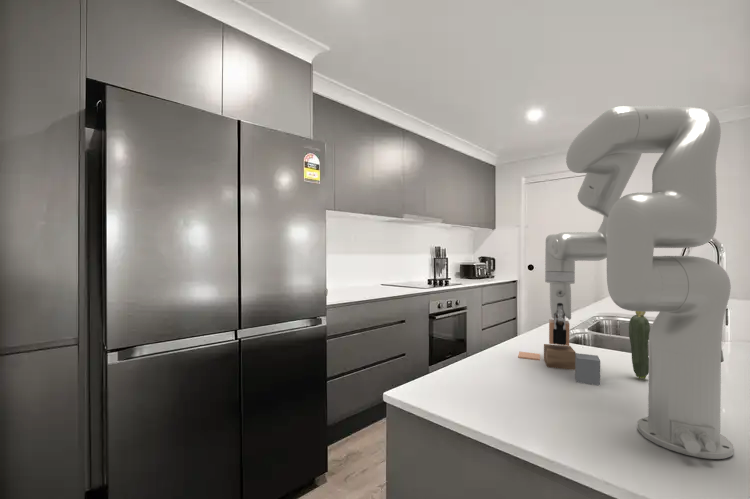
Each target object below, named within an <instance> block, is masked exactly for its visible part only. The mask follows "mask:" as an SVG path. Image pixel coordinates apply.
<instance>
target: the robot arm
mask: <svg viewBox="0 0 750 499" xmlns="http://www.w3.org/2000/svg"><path fill="white" fill-rule="evenodd" d="M721 132H722V131H721V123H720V121H719V118H718V117H717V116H716V114H715V113H714V112H712V111H711V110H709V109H707V108H703V107H697V106H689V105H688V106H686V105H685V106H684V105H683V106H682V105H620V106H615V107H611V108H609V109H607V110H605V111H604V112H603V113H601V115H599V116H598V117H596V118H595V120H593V121H592V122H591V123H590V124H588V125H587V126H586V127H584V129H583V130H581V131H580V132H579V133H578V134H577V135H576V137H575V138H574V139H573V140H572V142H571V143H570V145H569V147H568V150H567V152H566V158H565V159H566V163H565V164H566V165H567V169H569V171H570V172H572V173H574V174H575V173H576V174H585V176H584V179H583V182H582V183H581V186H580V188H579V190H578V192H577V200H578V202H579V203H580V204H581V205H582V206H583V207H585V208H587V209H589V211H593V212H595V213H597V214H599V215H602V216H603V218H602V219H603V220H602V221H601V224H600V226H599V228H598V230H597V231H596V232H593V231H592V232H591V231H588V232H587V231H585V232H583V231H581V232H579V231H578V232H576V231H575V232H569V231H568V232H560V233H553V234H549V235H547V236H546V238H545V257H544V258H545V259H544V260H545V261H544V262H545V264H544V265H545V268H544V271H545V272H544V273H545V274H544V277H545V278H544V281H545V283H548V284H549V305H550V306H549V307H550V308H549V309H550V314H551V318H552V319H553V320H554V329H553V343H554V344H553V345H557V344H562V345H565V344H566V330H565V321H566V319H568V321H570V320H571V319H572V289H571V288H572V285H573V284H575V282H576V281H575V280H576V277H575V276H576V274H575V273H576V266H575V265H576V261H577V262H578V261H581V262H583V261H584V262H585V261H586V262H587V261H588V262H591V261H594V262H595V261H603V260H605V259H606V283H607V290H608V294H609V296H610V298H611V300H612V301H613V303H614V304H615V305H616V306H617V307H618V308H621V309H622V310H626V311H631V312H635V311H643V312H647V313H648V312H649V313H651V312H656V313H657V315H656V317H655V319H654V321H652V325H651V326H650V332H649V339H648V357H649V373H648V398H647V399H648V404H647V407H648V409H647V410H648V412H647V413H648V414H647V415H648V416H645V417H642V418H640V419H639V420H638V421H637V430H638V432H639V434H641V436H643V437H645V438H646V439H647V440H649V441H650V442H652V443H654V444H655V445H657V446H660V447H662V448H665V449H667V450H669V451H673V452H675V453H678V454H682V455H685V456H689V457H690V456H691V457H693V458H694V457H695V458H699V459H700V458H701V459H708V460H721V459H723V460H724V459H728V458H731V457H732V456H733V455H734V444H733V443H732V442H731V440H729V439H728V438H727V437H725V436H724V435H723V434H721V400H722V399H721V397H722V396H721V394H722V392H721V391H722V390H721V387H722V386H721V383H722V363H721V362H722V343H723V342H722V340H723V339H722V338H723V325H724V318H725V315H726V314H725V313H726V311H727V310H726V309H727V307H728V304H729V300H730V296H731V288H732V287H731V286H732V285H731V280H730V277H729V274H728V273H727V271H726V270H725V269H724V268H723V266H721V265H720V264H719V263H717V262H715V261H713V260H710V259H708V258H705V257H700V256H692V255H691V256H690V255H654V251H655V249H687V248H696V247H700V246H701V247H702V246H704V245H705V244H708V243H709V242H711V240H712V239H713V238H714V236H715V233H716V229H717V219H718V217H717V215H718V209H717V208H718V207H717V203H718V202H717V172H716V171H717V166H716V165H717V156H718V152H719V147H720V142H721ZM642 154H661V156H659V158H658V160H657V161H656V163H655V164H654V167H653V170H652V173H651V179H652V183H651V184H652V187H651V188H652V189H651V190H652V191H651V192H634V193H629V194H625V195H623V193H624V191H625V188H626V186H627V185H628V183H629V181H630V179H631V177H632V176H633V174H634V170H635V169H636V167H637V165H638V163H639V162H640V159H641V157H642ZM622 195H623V196H622ZM565 346H566V345H565Z"/></svg>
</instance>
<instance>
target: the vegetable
mask: <svg viewBox="0 0 750 499" xmlns="http://www.w3.org/2000/svg"><path fill="white" fill-rule="evenodd" d="M634 312H635V315H633V316H631V318H629V321H628V337H629V342H630V350H631V351H630V352H631V364H632V368H633V372H634V374H635V376H636V377H637V378H638V379H646V378H647V376H649V334H650V330H651V326H650V321H649V319H648V318H646V316H645V315H646V312H643V311H634Z"/></svg>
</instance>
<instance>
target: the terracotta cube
mask: <svg viewBox="0 0 750 499" xmlns="http://www.w3.org/2000/svg"><path fill="white" fill-rule="evenodd" d="M548 321H549V322H548V344H552V345H555V344H554V343H553V329H554V319H549V320H548ZM565 330H566V344H565V346H570V320H565ZM556 345H562V344H556Z"/></svg>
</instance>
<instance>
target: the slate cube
mask: <svg viewBox="0 0 750 499" xmlns="http://www.w3.org/2000/svg"><path fill="white" fill-rule="evenodd" d="M574 377H575V381H576V383H580V384H586V385H587V384H588V385H592V384H593V385H595V386H599V385H600V386H601V360H600V357H599V356H598V355H596V354H594V355H593V354H587V353H578V352H576V353H575V370H574Z"/></svg>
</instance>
